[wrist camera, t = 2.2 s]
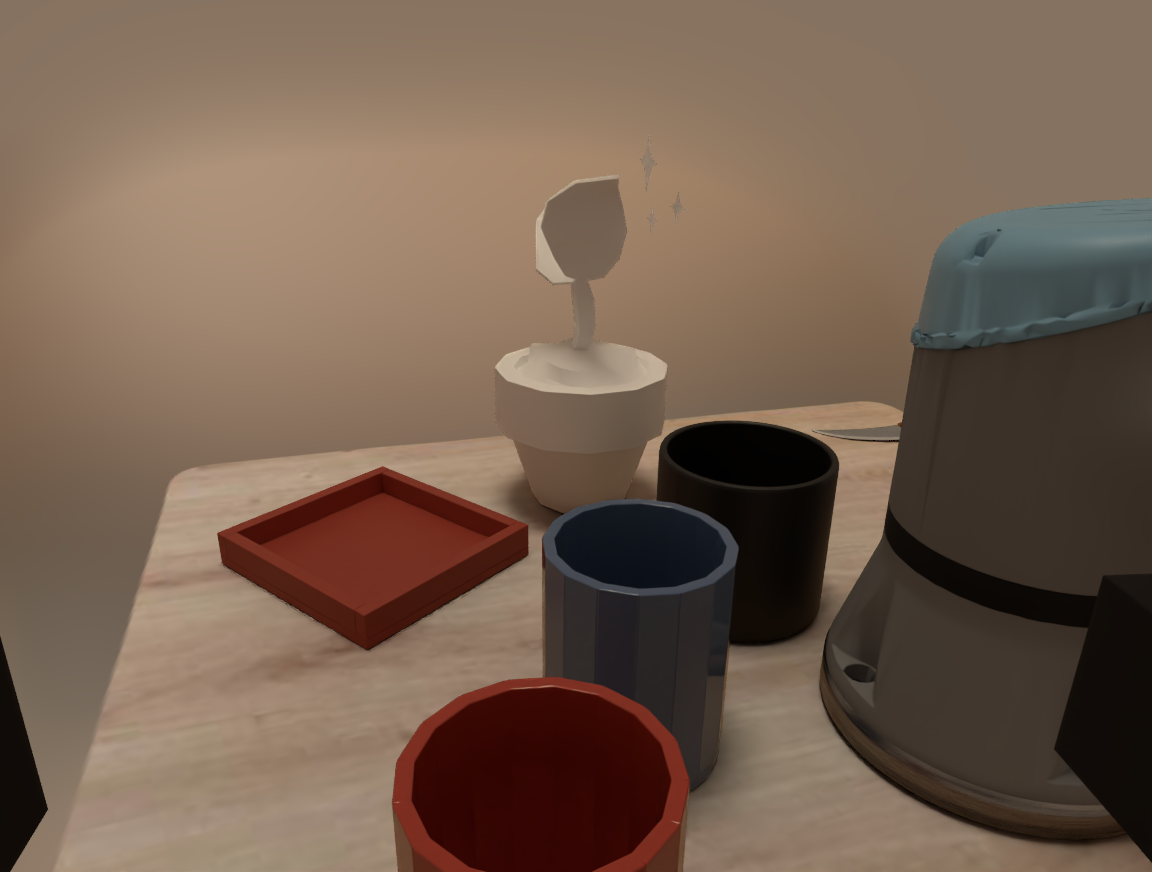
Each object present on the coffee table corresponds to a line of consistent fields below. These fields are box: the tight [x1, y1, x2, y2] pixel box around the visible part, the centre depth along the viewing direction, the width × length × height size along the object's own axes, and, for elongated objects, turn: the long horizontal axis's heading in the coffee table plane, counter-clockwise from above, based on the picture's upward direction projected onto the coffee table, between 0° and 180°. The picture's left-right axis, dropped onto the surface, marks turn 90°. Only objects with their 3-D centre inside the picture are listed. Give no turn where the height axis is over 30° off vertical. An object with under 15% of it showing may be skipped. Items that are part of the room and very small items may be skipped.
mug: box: [657, 421, 839, 642], centre depth 49 cm, size 9×12×9 cm
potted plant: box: [495, 130, 685, 513], centre depth 57 cm, size 13×12×25 cm
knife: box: [814, 423, 902, 440], centre depth 72 cm, size 13×1×3 cm
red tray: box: [217, 466, 528, 649], centre depth 52 cm, size 14×13×2 cm
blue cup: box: [542, 499, 739, 792], centre depth 37 cm, size 8×8×10 cm
